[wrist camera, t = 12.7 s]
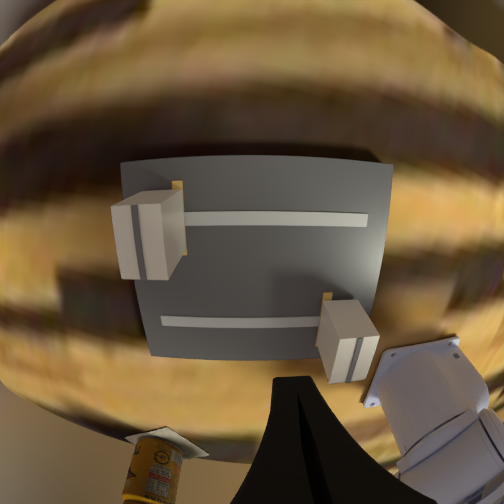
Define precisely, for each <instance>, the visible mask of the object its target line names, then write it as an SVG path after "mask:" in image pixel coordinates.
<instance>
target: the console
mask: <svg viewBox="0 0 504 504" xmlns="http://www.w3.org/2000/svg"><path fill="white" fill-rule="evenodd" d="M120 166H121V182H122V195H123V200H124V199H126V198H129V197H131V196H133V195H135V194H137V193H139V192H141V191H154V190H173V189H182V194H183V213H184V228H185V242H186V250H185V252H184V254H183V255H182V257H181V259H180V261H179V262H178V264H177V266H176V268H175V269H174V271H173V273H172V275H171V276H170V278H169V280H147V281H141V280H139V279H134V283H135V288H136V293H137V298H138V303H139V307H140V312H141V317H142V321H143V325H144V329H145V333H146V337H147V341H148V345H149V349H150V353H151V356H159V357H171V358H185V359H203V360H293V359H311V358H321V356H320V353H319V349H318V346H317V338H318V332H319V326H320V319H321V313H322V306H323V301H333V300H355V299H358V301H359V302H360V304H361V305H362V307H363V309H364V310H365V312H366V313H367V315H368V317H369V318H370V314H371V310H372V306H373V302H374V297H375V293H376V288H377V283H378V278H379V273H380V268H381V262H382V257H383V251H384V245H385V238H386V231H387V224H388V216H389V207H390V198H391V187H392V175H393V165H392V164H386V163H379V162H371V161H361V160H351V159H340V158H327V157H311V156H290V155H208V156H187V157H171V158H158V159H146V160H136V161H128V162H122V163H120Z"/></svg>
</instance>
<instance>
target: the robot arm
mask: <svg viewBox="0 0 504 504" xmlns="http://www.w3.org/2000/svg"><path fill="white" fill-rule="evenodd" d="M459 342H460V338H459V337H458V336H456V337H452V338H448V339H443V340H438V341H433V342H428V343H423V344H417V345H411V346H405V347H399V348H393V349H387V350H385V351H384V352H383V354H382V357H381V360H380V362H379V365H378V368H377V370H376V373H375V376H374V378H373V381H372V383H371V386H370V388H369V391H368V393H367V396H366V398H365V400H364V403H363V406H364V407H365V408H368V407H373V406H379V405H381V406H382V408H383V411H384V413H385V416H386V418H387V420H388V423H389V425H390V428H391V430H392V433H393V435H394V438H395V440H396V443H397V445H398V448H399V450H400V453H401V456H402V459H401V460H399V461H398V462H397V466H398V469H399V471H398V472H396V474H395V475H392V474H391V473H390V472H388V471H387V470H386V469H384V468H383V467H382V466H381V465H379V464H378V463H377V462H376V461H375V460H374V459H373V458H372V457H371V456H370V455H369V454H368V453H366V452H365V451H364V450H363V449H362V448H361V446H360V445H359V444H358V443H357V442H356V441H355V440H354V439H353V438H352V436H351V435H350V434H349V433H348V432H347V430H346V429H345V428H344V427H343V425H342V424H341V423H340V422H339V420H338V419H337V417H336V416H335V415H334V413H333V412H332V410H331V409H330V408H329V406H328V405H327V403H326V401H325V400H324V398H323V397H322V395H321V393H320V392H319V390H318V388H317V387H316V385H315V383H314V381H313V379H312V377H310V376H294V377H276V378H274V379H273V383H272V396H271V408H270V409H271V410H270V414H269V418H268V422H267V426H266V429H265V432H264V435H263V438H262V441H261V444H260V447H259V449H258V452H257V454H256V456H255V459H254V461H253V463H252V465H251V468H250V470H249V472H248V473H247V476H246V477H245V479H244V481H243V483H242V485H241V487H240V488H239V490H238V492H237V493H236V495H235V497H234V498H233V500H232V501H231V503H230V504H504V425H503V423H502V422H501V420H500V419H499V417H498V416H497V414H496V413H495V412H494V410H493V409H487V408H488V403H489V393H488V388H487V385H486V383H485V381H484V379H483V378H482V376H481V375H480V374H479V373H478V371H477V370H476V369H475V367H474V366H473V365H472V363H471V362H470V361H469V360H468V358H467V357H466V356H465V355H464V353H463V352H462V351H461V350H460V349H459V347H458V344H459Z"/></svg>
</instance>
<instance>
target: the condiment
mask: <svg viewBox="0 0 504 504" xmlns="http://www.w3.org/2000/svg"><path fill="white" fill-rule="evenodd" d="M165 437H166V438H165ZM169 438H171V439H169ZM125 439H127V440H128V441H130V442H131V443H133V444H134V445H136V447H135V450H134V454H133V457H132V460H131V464H130V467H129V470H128V474H127V478H126V482H125V486H124V489H123V493H122V497H123V499H124V503H123V504H175V501H176V494H177V488H178V482H179V475H180V469H181V464H182V460H184V459H191V458H196V457H204V456H207V455H209V454H207V453H206V452H205V451H203V450H202V449H200V448H199V447H197V446H196V445H194V444H193V443H191V442H189V441H188V440H187V439H186V438H183V437H181V436H180V435H178V434H177V433H176V432H174V431H172V430H171V429H169V428H168V427H166V428H163V429H158V430H156V431H151V432H147V433H140V434H137V435H132V436H128V437H125Z"/></svg>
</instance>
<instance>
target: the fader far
mask: <svg viewBox="0 0 504 504" xmlns="http://www.w3.org/2000/svg"><path fill="white" fill-rule="evenodd" d="M379 338H380V334H379V333H378V331H377V330H376V328H375V326H374V325H373V323H372V321H371V320H370V318H369V317H368V315H367V313H366V312H365V310H364V309H363V307H362V305H361V304H360V302H359V301H358V299H355V300H333V301H323V306H322V313H321V319H320V326H319V332H318V338H317V346H318V349H319V353H320V356H321V359H322V362H323V366H324V369H325V372H326V376H327V379H328V382H329V384H332V383H341V382H345V383H350V382H351V381H357V380H364V379H366V376H367V374H368V371H369V368H370V365H371V362H372V359H373V356H374V353H375V350H376V347H377V344H378V341H379Z"/></svg>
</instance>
